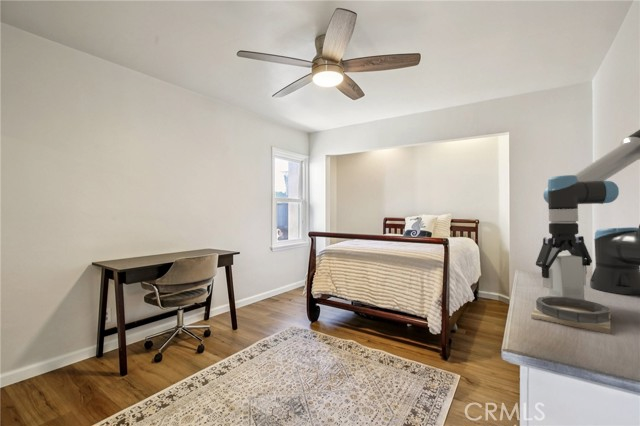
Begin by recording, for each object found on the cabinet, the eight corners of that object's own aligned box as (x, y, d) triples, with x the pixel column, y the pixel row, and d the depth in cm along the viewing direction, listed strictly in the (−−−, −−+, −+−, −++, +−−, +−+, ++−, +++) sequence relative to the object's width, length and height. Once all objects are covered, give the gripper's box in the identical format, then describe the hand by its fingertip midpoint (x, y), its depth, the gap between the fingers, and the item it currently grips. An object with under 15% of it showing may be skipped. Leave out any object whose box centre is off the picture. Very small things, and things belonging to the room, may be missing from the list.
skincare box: (585, 306, 91) (584, 257, 91) (561, 305, 93) (560, 257, 93) (568, 298, 100) (567, 253, 100) (546, 297, 101) (545, 253, 101)
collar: (541, 304, 94) (540, 293, 94) (610, 316, 83) (610, 303, 83) (531, 318, 83) (531, 305, 83) (610, 333, 72) (609, 318, 72)
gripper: (580, 220, 102) (582, 280, 102) (521, 223, 97) (523, 286, 97) (605, 221, 95) (607, 285, 95) (543, 224, 90) (544, 292, 90)
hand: (564, 286), depth 96 cm, fingers open, 13 cm apart
